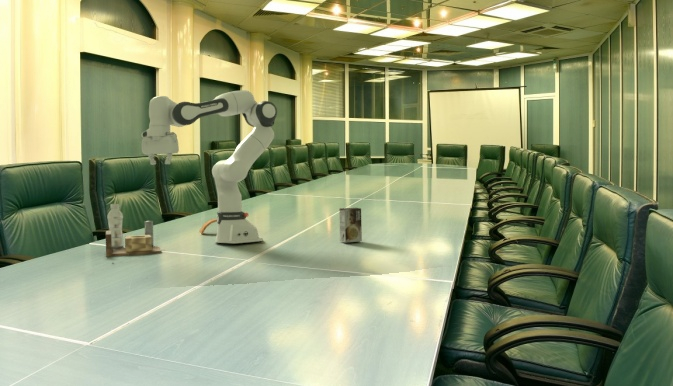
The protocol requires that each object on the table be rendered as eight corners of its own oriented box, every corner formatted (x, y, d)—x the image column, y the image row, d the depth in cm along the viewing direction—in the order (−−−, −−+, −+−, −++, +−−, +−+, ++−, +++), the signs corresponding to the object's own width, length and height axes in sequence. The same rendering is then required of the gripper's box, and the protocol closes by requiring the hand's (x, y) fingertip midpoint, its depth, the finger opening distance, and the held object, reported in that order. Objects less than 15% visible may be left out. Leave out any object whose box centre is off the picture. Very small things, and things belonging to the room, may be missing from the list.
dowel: (153, 246, 225) (152, 220, 225) (153, 247, 222) (153, 221, 222) (144, 247, 224) (144, 221, 224) (145, 248, 221) (144, 221, 220)
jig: (158, 248, 220) (158, 228, 220) (161, 253, 205) (161, 231, 205) (106, 251, 211) (106, 230, 211) (106, 256, 197) (105, 234, 196)
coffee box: (355, 240, 243) (355, 207, 243) (362, 241, 237) (361, 208, 237) (339, 241, 239) (339, 208, 239) (345, 242, 233) (344, 208, 233)
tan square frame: (150, 247, 216) (149, 234, 215) (151, 250, 207) (151, 237, 206) (125, 248, 212) (124, 236, 211) (125, 251, 202) (125, 238, 202)
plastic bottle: (118, 249, 218) (117, 204, 217) (104, 249, 219) (103, 204, 219) (127, 247, 224) (126, 203, 224) (113, 247, 226) (112, 203, 225)
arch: (198, 238, 258) (197, 219, 258) (235, 236, 267) (235, 217, 266) (200, 239, 253) (200, 220, 252) (238, 237, 261) (238, 218, 261)
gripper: (181, 132, 215) (182, 164, 215) (150, 134, 225) (151, 165, 225) (170, 131, 209) (170, 163, 210) (138, 133, 220) (139, 164, 220)
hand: (160, 164), depth 218 cm, fingers open, 8 cm apart
